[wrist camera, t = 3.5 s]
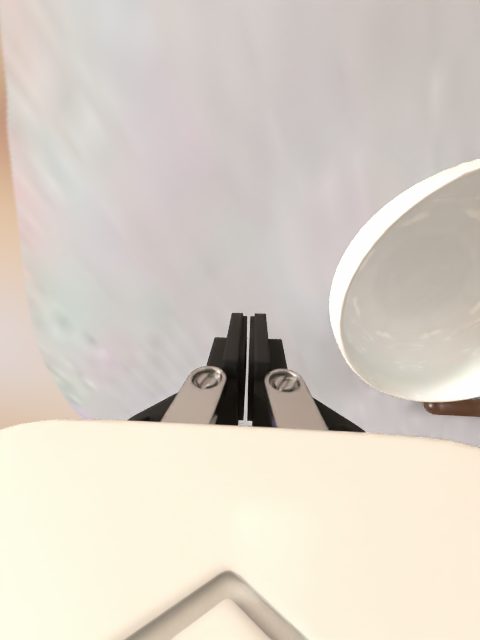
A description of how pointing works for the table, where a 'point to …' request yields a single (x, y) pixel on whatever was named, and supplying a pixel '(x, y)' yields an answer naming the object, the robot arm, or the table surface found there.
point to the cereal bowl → (415, 292)
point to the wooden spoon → (454, 408)
